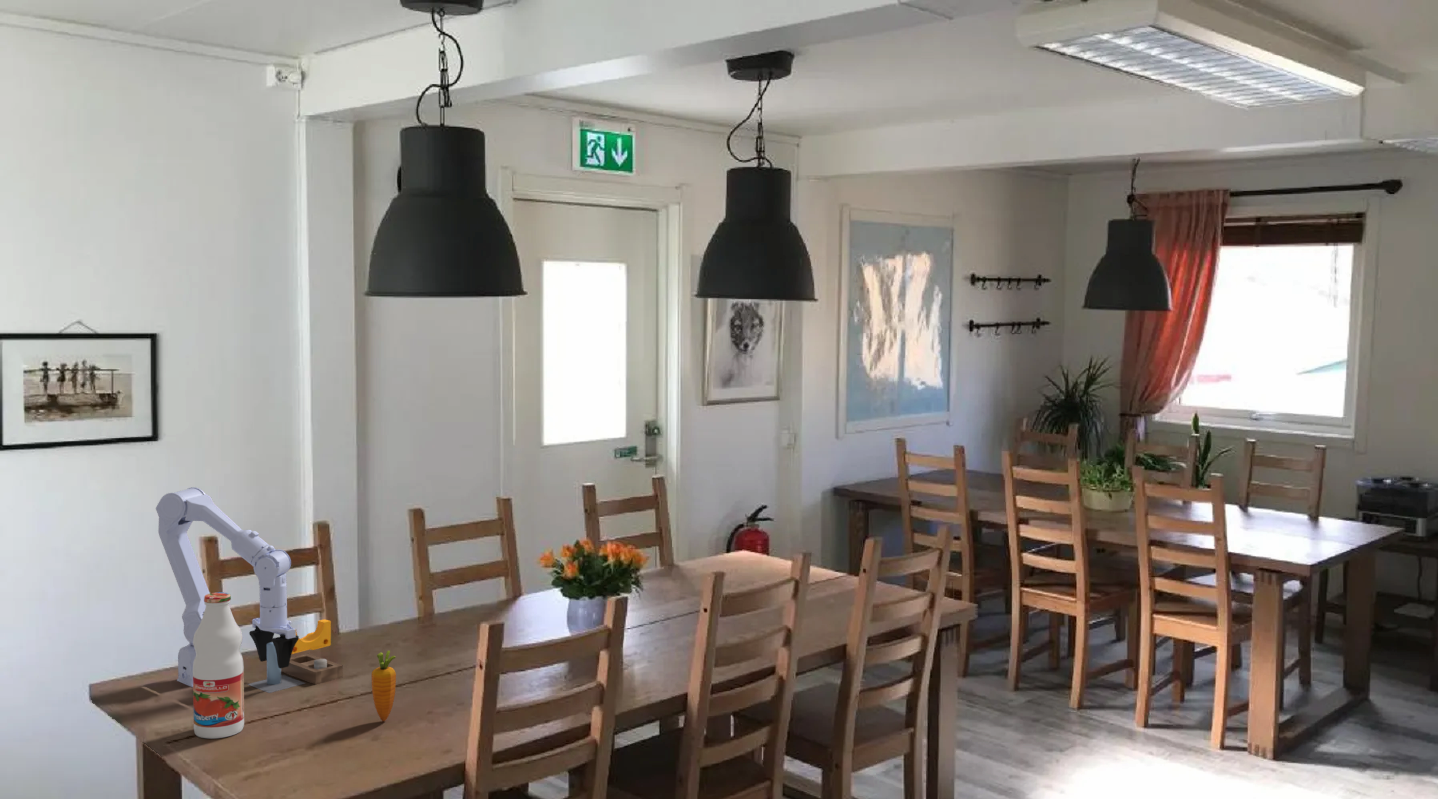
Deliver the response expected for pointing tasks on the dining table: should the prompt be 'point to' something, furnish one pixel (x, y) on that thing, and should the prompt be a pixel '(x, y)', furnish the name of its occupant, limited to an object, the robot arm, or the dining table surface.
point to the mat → (285, 683)
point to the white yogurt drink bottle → (218, 671)
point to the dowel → (272, 666)
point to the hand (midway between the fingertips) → (274, 663)
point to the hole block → (313, 669)
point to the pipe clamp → (315, 638)
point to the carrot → (383, 686)
